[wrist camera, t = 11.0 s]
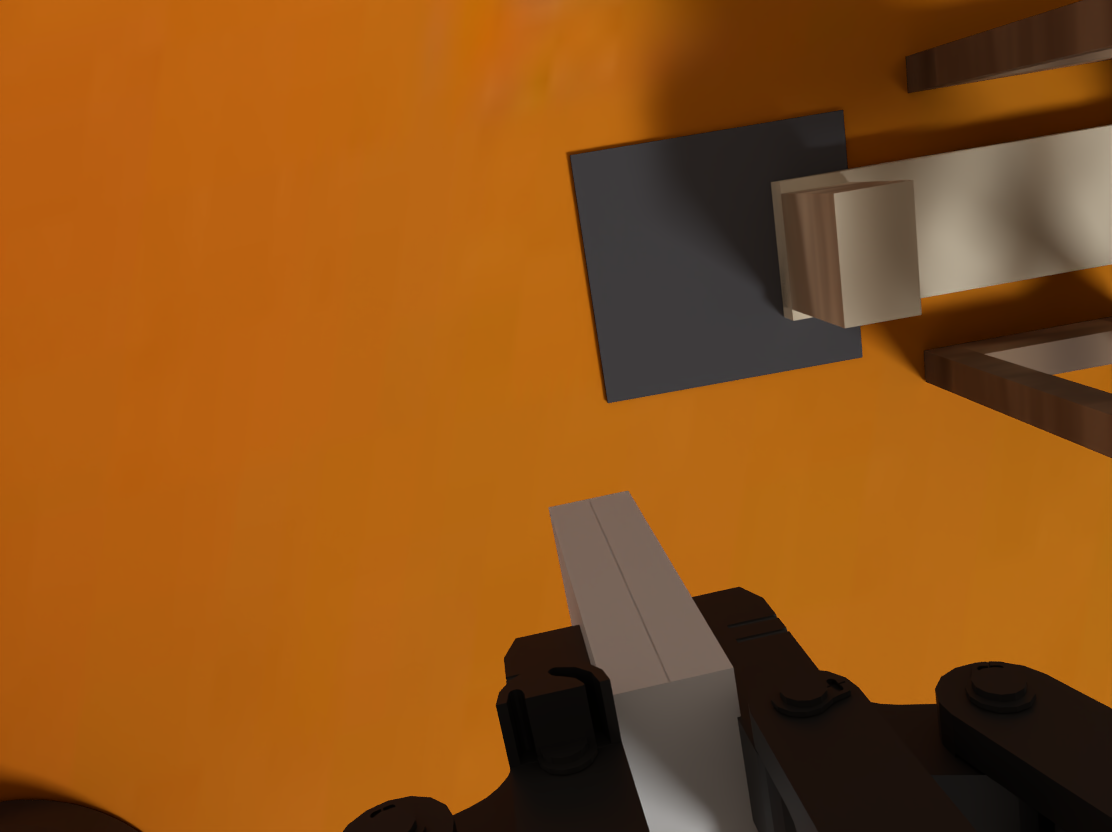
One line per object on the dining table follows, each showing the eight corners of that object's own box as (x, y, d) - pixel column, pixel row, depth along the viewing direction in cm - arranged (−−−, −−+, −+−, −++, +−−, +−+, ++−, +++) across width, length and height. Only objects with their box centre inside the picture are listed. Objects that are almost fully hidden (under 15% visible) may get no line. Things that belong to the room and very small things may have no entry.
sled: (787, 349, 41) (849, 379, 35) (767, 146, 39) (828, 136, 32) (1218, 272, 42) (1360, 286, 36) (1222, 70, 40) (1374, 44, 33)
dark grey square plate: (607, 402, 41) (607, 403, 41) (570, 155, 39) (570, 155, 39) (861, 356, 42) (862, 357, 42) (841, 110, 39) (842, 109, 39)
